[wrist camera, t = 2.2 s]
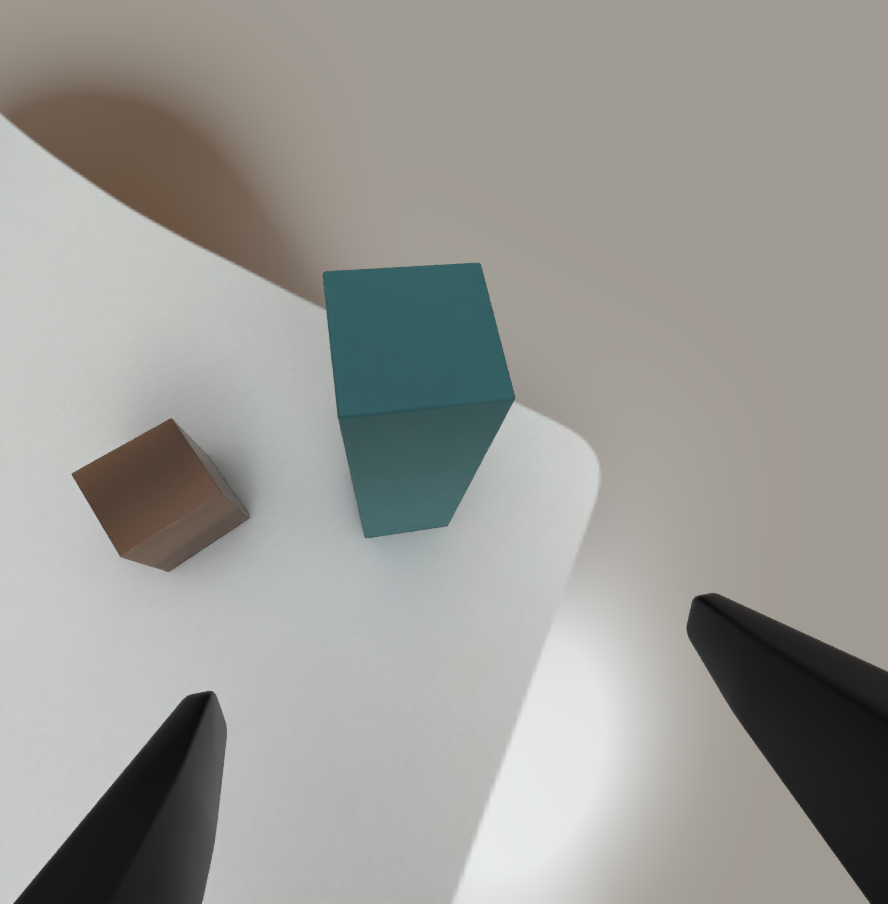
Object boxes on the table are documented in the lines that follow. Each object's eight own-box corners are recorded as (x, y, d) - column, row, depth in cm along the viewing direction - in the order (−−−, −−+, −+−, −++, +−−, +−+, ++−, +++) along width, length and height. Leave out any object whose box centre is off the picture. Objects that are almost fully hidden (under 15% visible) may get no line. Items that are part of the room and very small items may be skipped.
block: (251, 517, 22) (222, 493, 18) (168, 572, 20) (120, 557, 17) (206, 453, 23) (171, 417, 19) (125, 502, 21) (69, 473, 18)
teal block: (448, 526, 23) (516, 398, 11) (364, 538, 22) (337, 418, 10) (434, 450, 24) (481, 261, 12) (355, 459, 23) (321, 269, 11)
